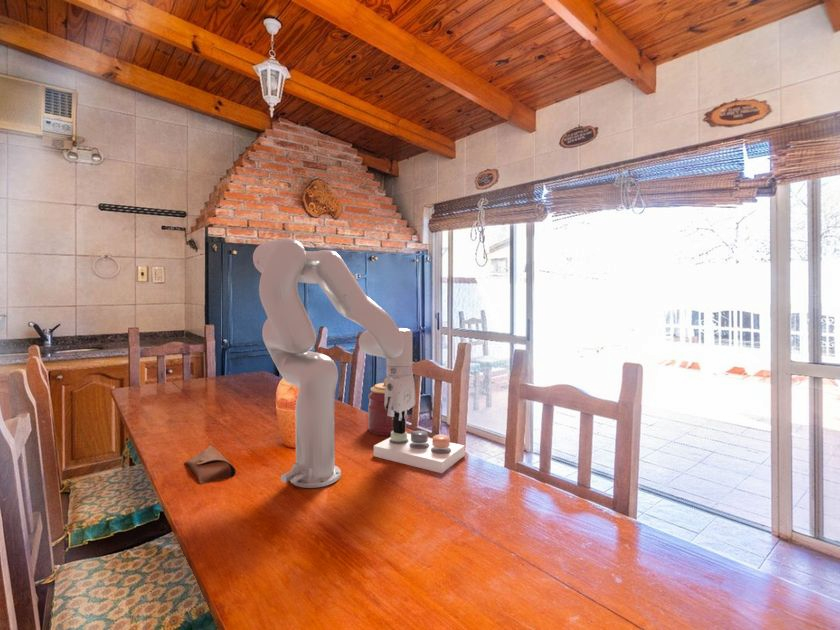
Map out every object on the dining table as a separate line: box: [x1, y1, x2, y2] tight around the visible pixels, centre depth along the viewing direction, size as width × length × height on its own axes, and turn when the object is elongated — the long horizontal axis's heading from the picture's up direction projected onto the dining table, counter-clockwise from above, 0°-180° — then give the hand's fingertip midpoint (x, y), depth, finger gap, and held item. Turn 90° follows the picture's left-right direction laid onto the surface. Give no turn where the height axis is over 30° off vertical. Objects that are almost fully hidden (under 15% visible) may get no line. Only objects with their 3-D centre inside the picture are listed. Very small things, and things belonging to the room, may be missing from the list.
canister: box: [367, 378, 407, 437], centre depth 146 cm, size 13×13×18 cm
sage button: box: [390, 430, 408, 442], centre depth 127 cm, size 5×5×2 cm
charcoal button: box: [410, 430, 429, 443], centre depth 124 cm, size 5×5×2 cm
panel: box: [373, 433, 466, 474], centre depth 124 cm, size 14×22×3 cm, turn 59°
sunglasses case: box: [184, 444, 236, 485], centre depth 114 cm, size 18×7×7 cm, turn 42°
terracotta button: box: [431, 434, 451, 448], centre depth 120 cm, size 5×5×2 cm
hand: (399, 432), depth 127 cm, fingers closed
